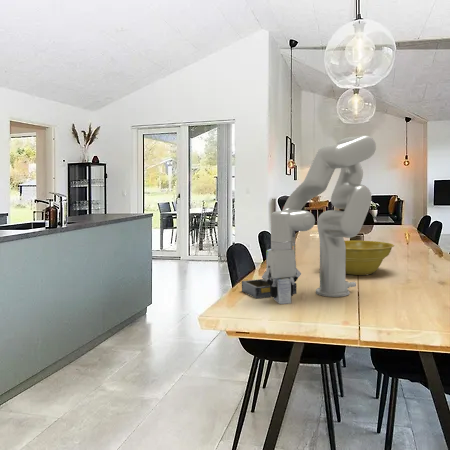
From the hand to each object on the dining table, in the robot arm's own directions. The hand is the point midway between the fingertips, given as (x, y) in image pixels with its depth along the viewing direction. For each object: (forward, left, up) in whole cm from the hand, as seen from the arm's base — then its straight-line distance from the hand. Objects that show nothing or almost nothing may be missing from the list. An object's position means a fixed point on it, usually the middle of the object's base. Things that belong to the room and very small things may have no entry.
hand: (281, 295), depth 168 cm
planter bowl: (-57, -31, -2) cm, 65 cm away
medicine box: (0, 0, -2) cm, 2 cm away
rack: (-2, -14, -2) cm, 14 cm away
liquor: (-40, -67, -2) cm, 78 cm away
